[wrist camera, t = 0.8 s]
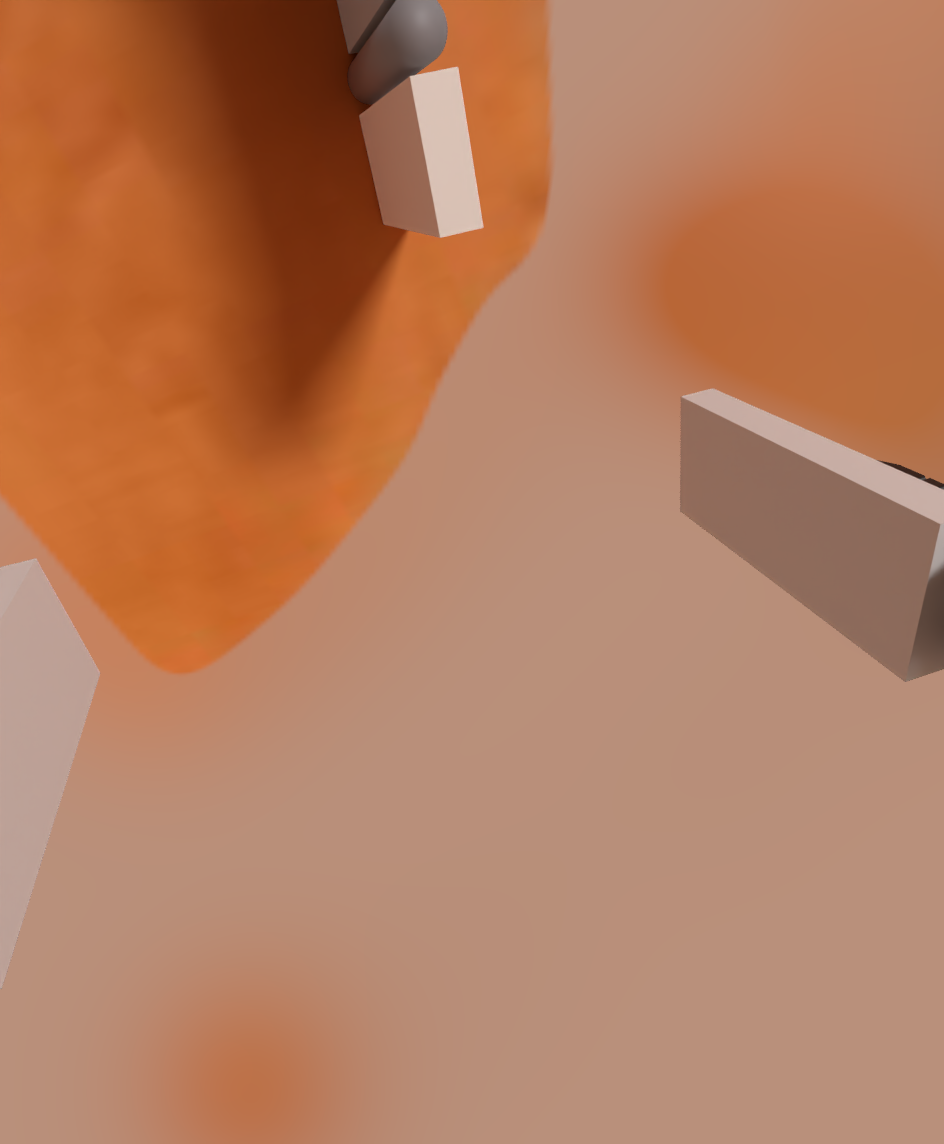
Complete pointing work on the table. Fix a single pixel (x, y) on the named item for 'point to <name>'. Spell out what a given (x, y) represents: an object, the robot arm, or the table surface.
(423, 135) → the wall frame
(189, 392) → the table surface
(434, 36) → the door
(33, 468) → the table surface
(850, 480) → the robot arm
